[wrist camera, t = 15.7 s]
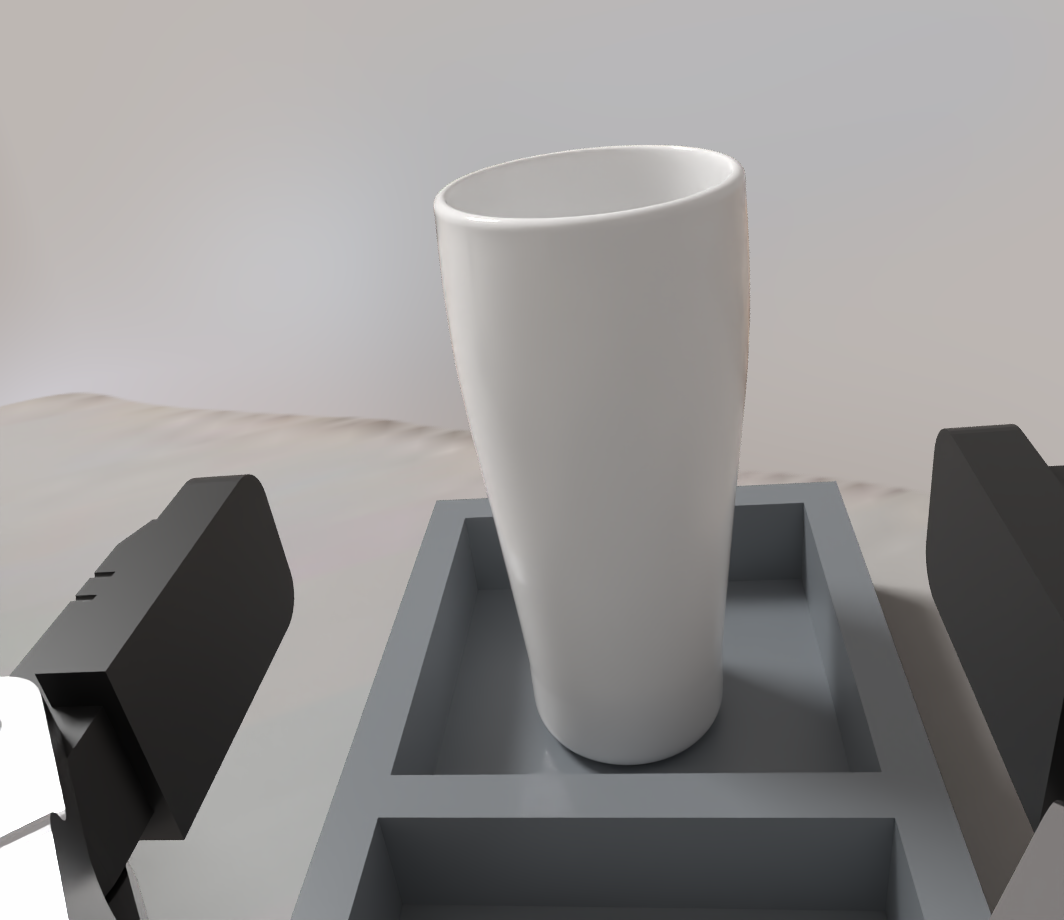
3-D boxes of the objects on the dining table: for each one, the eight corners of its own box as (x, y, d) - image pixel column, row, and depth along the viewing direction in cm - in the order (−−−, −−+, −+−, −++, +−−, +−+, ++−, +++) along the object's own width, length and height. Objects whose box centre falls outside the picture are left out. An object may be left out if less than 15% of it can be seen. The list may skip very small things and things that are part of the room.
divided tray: (831, 575, 33) (836, 481, 31) (1245, 1956, 10) (1348, 1913, 9) (453, 588, 34) (436, 500, 33) (122, 1782, 12) (12, 1716, 10)
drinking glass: (749, 633, 29) (749, 133, 22) (750, 809, 24) (750, 210, 16) (536, 625, 31) (472, 154, 24) (488, 788, 25) (383, 231, 18)
